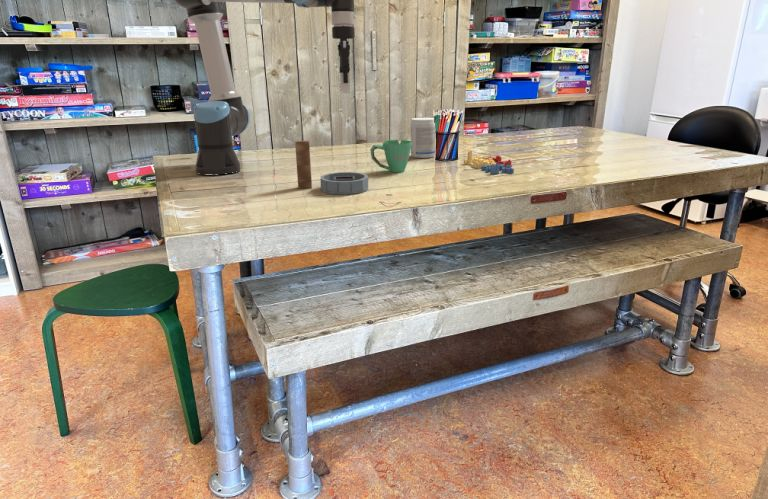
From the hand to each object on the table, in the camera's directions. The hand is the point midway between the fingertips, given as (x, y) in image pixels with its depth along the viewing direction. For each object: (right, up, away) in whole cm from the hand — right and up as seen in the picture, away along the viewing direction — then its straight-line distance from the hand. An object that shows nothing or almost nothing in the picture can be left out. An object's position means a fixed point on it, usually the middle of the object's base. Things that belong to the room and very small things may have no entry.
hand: (344, 92), depth 187 cm
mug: (+16, -28, -2) cm, 32 cm away
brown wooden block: (-10, -36, -23) cm, 44 cm away
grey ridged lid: (+2, -37, -26) cm, 45 cm away
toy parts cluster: (+50, -23, +13) cm, 57 cm away
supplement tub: (+29, -18, +26) cm, 43 cm away
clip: (+2, -37, -26) cm, 45 cm away
